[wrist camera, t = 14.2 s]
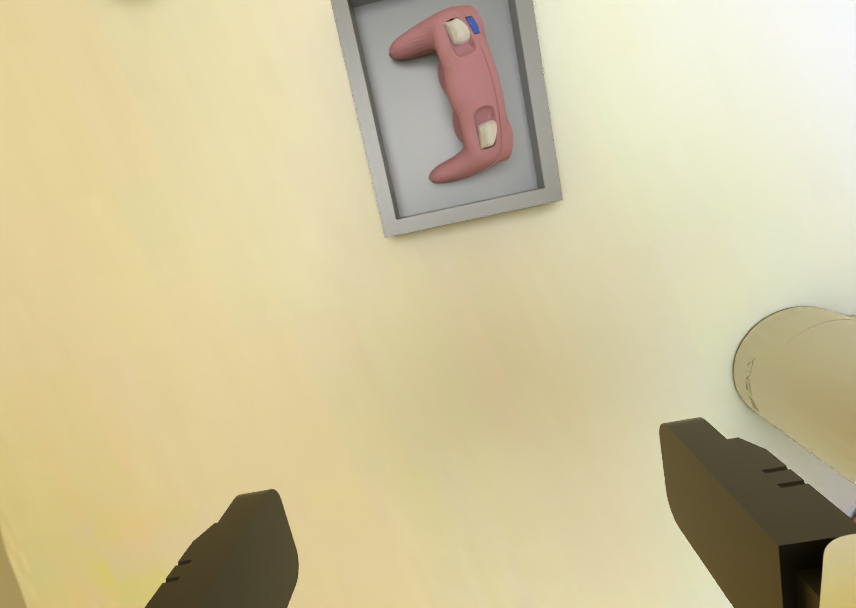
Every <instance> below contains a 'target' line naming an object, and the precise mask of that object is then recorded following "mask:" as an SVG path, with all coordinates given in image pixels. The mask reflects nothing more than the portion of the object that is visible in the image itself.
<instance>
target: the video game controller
mask: <svg viewBox="0 0 856 608" xmlns="http://www.w3.org/2000/svg"><path fill="white" fill-rule="evenodd" d="M434 51H436V52H437V55H438V57H439V60H440V61H439V65H438V78H439V82H440V85H441V87H442V89H443V90H444V92H445V93H446V94H447V96H448V98H449V101H450V103H451V105H452V107H453V109H454V112H453V127H454V131H455V133H456V136H457V137H458V138H459V140H461V141H462V142H464V147H463V149H462V150H461V151H460V152H459V153H457V154H456V155H455V156H454V157H452V158H450V159H448V160H446V161H445V162H443V163H441V164H439V165H438V166H436V167H435V168H434V169H433V170H432V171H431V173H430V174H429V180H430V181H431V182H433V183H448V182H453V181H458V180H461V179H464V178H468V177H471V176H473V175H475V174H477V173H480V172H481V171H483V170H485V169H487V168H489V167H491V166H493V165H495V164H497V163H500V162H502V161H505V160H507V159H508V158H509V157H510V155H511V153H512V149H513V132H512V127H511V125H510V122H509V120H508V118H507V116H506V110H505V104H504V97H503V93H502V89H501V85H500V80H499V76H498V73H497V70H496V67H495V63H494V60H493V57H492V55H491V52H490V49H489V47H488V44H487V42H486V40H485V29H484V24H483V22H482V19H481V16H480V15H479V13H478V11H477V10H476V9H475V8H474V7H473V6H471V5H463V6H455V7H449V8H446V9H444V10H441V11H439V12H437V13H435V14H433V15H432V16H430V17H428V18H426V19H425V20H423V21H422V22H420V23H418V24H417V25H415V26H414V27H412V28H411V29H409V30H408V31H406V32H405V33H403V34H402V35H400V36H399V37H398V38H397V39H396V40H394V42H393V43H392V44H391V46H390V48H389V56H390V57H391V58H392V59H395V60H402V59H412V58H416V57H419V56H422V55H426V54H429V53H431V52H434Z"/></svg>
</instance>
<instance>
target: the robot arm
mask: <svg viewBox="0 0 856 608" xmlns="http://www.w3.org/2000/svg"><path fill="white" fill-rule="evenodd" d="M734 381H735V386H736V389H737V391H738V393H739V395H740V397H741V399H742V400H743V401H744V402H745V403H746V405H747V406H748V407H749V408H751V409H752V410H753V411H755V412H756V413H757V414H759V415H760V416H761V417H763V418H764V419H766V420H767V421H768V422H770V423H771V424H772V425H774V426H775V427H776V428H778V429H779V430H781V431H782V432H783V433H784V434H786V435H787V436H788V437H790V438H791V439H792V440H794V441H795V442H797V443H798V444H799V445H801V446H802V447H804V448H805V449H806V450H808V451H809V452H810V453H812V454H813V455H815V456H816V457H817V458H819V459H820V460H821V461H823V462H824V463H826V464H827V465H828V466H830V467H831V468H833V469H834V470H835V471H837V472H838V473H839V474H841V475H842V476H844V477H845V478H846V479H848V480H849V481H850V482H852V483H853V484H855V485H856V316H849V317H848V316H845V315H841V314H838V313H835V312H832V311H829V310H825V309H821V308H817V307H802V306H800V307H794V308H788V309H785V310H782V311H779V312H777V313H774V314H772V315H770V316H769V317H767V318H765V319H764V320H762V321H761V322H760V323H758V324H757V325H756V326H755V327H754V328H753V329H752V330H751V331H750V332H749V333H748V335H747V336H746V337H745V339H744V340H743V341H742V343H741V345H740V347H739V349H738V351H737V354H736V358H735V362H734ZM659 435H660V444H661V452H662V460H663V468H664V476H665V484H666V492H667V498H668V502H669V505H670V508H671V511H672V514H673V516H674V519H675V521H676V523H677V525H678V526H679V528H680V530H681V531H682V532H683V534H684V535H685V537H686V538H687V540H688V541H689V543H690V544H691V546H692V547H693V549H694V550H695V551H696V553H697V554H698V556H699V557H700V559H701V560H702V562H703V563H704V565H705V566H706V568H707V569H708V571H709V572H710V573H711V575H712V576H713V578H714V579H715V581H716V582H717V584H718V585H719V587H720V588H721V590H722V591H723V592H724V594H725V595H726V597H727V598H728V600H729V601H730V603H731V604H732V606H733V607H734V608H856V522H854V521H853V520H852V519H851V518H850V517H848V516H847V515H846V514H845V513H843V512H842V511H841V510H840V509H839V508H837V507H836V506H835V505H834V504H832V503H831V502H830V501H829V500H827V499H826V498H825V497H824V496H823V495H821V494H820V493H819V492H818V491H816V490H815V489H814V488H813V487H812V486H810V485H809V484H805V483H804V480H803V479H802V478H801V477H799V476H798V475H797V474H796V473H794V472H793V471H792V470H791V469H790V470H788V469H787V466H786V465H785V464H783V463H782V462H781V461H780V460H778V459H777V458H776V457H775V456H774V455H772V454H771V453H770V452H769V451H767V450H766V449H764V448H761V447H759V446H757V445H754V444H752V443H750V442H747V441H745V440H743V439H740V438H733V439H726V438H725V437H724V436H723V435H721V434H720V433H719V432H718V431H717V430H716V429H715V428H714V427H713V426H711V425H710V424H709V423H708V422H707V421H706V420H705V419H703V418H701V417H699V418H693V419H687V420H681V421H675V422H669V423H663V424H661V426H660V430H659ZM298 569H299V564H298V554H297V550H296V546H295V543H294V540H293V537H292V533H291V530H290V527H289V523H288V520H287V517H286V514H285V510H284V507H283V504H282V501H281V498H280V496H279V494H278V492H277V491H276V490H274V489H270V490H264V491H258V492H252V493H247V494H241V495H238V496H237V497H236V498H235V499H234V500H233V502H232V503H231V504H230V506H229V507H228V509H227V510H226V512H225V513H224V515H223V516H222V517H221V519H220V520H219V522H218V523H214V524H213V525H212V526H211V527H210V528H208V529H207V530H206V531H205V532H204V533H203V534H201V535H200V536H199V537H198V538H197V539H196V540H194V541H193V542H192V544H191V545H190V546H189V548H188V549H187V550H186V552H185V553H184V555H183V556H182V557H181V559H180V560H179V561H178V566H175V567H174V568H173V570H172V571H171V572H170V574H169V575H168V576H167V578H166V583H162V585H161V586H160V587H159V589H158V590H157V592H156V593H155V594H154V596H153V597H152V598H151V600H150V601H149V602H148V604H147V605H146V607H145V608H287V606H288V604H289V601H290V599H291V596H292V594H293V591H294V588H295V586H296V583H297V578H298Z"/></svg>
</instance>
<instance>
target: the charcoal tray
mask: <svg viewBox="0 0 856 608" xmlns="http://www.w3.org/2000/svg"><path fill="white" fill-rule="evenodd" d="M331 4H332V9H333V13H334V17H335V22H336V26H337V30H338V35H339V39H340V44H341V48H342V52H343V57H344V61H345V65H346V70H347V74H348V78H349V83H350V87H351V91H352V96H353V100H354V105H355V109H356V113H357V118H358V122H359V126H360V131H361V135H362V139H363V144H364V148H365V153H366V157H367V161H368V166H369V170H370V174H371V179H372V183H373V187H374V192H375V196H376V200H377V205H378V209H379V214H380V218H381V222H382V227H383V231H384V235H385V238H386V237H391V236H395V235H400V234H405V233H410V232H414V231H419V230H424V229H428V228H433V227H438V226H443V225H447V224H452V223H457V222H462V221H466V220H471V219H476V218H480V217H485V216H490V215H495V214H499V213H504V212H509V211H514V210H518V209H523V208H528V207H532V206H537V205H542V204H547V203H551V202H556V201H561V200H563V199H562V193H561V186H560V179H559V173H558V166H557V160H556V153H555V147H554V140H553V133H552V127H551V120H550V114H549V107H548V101H547V94H546V87H545V81H544V74H543V68H542V61H541V55H540V48H539V41H538V35H537V28H536V22H535V15H534V9H533V2H532V0H331ZM463 5H471V6H473V7H474V8H475V9H476V10H477V11H478V13H479V15H480V16H481V19H482V22H483V24H484V29H485V40H486V42H487V44H488V47H489V49H490V52H491V55H492V57H493V60H494V63H495V67H496V70H497V73H498V76H499V80H500V85H501V89H502V93H503V97H504V104H505V110H506V116H507V118H508V120H509V122H510V125H511V127H512V132H513V149H512V153H511V155H510V157H509V158H508V159H507V160H505V161H502V162H500V163H497V164H495V165H493V166H491V167H489V168H487V169H485V170H483V171H481V172H480V173H477V174H475V175H473V176H471V177H468V178H464V179H461V180H458V181H453V182H448V183H433V182H431V181H430V180H429V174H430V173H431V171H432V170H433V169H434V168H435V167H436V166H438V165H439V164H441V163H443V162H445V161H446V160H448V159H450V158H452V157H454V156H455V155H456V154H457V153H459V152H460V151H461V150H462V149H463V147H464V142H462V141H461V140H459V138H458V137H457V136H456V133H455V131H454V127H453V112H454V109H453V107H452V105H451V103H450V101H449V98H448V96H447V94H446V93H445V92H444V90H443V89H442V87H441V85H440V82H439V78H438V65H439V61H440V60H439V57H438V55H437V52H436V51H434V52H431V53H429V54H426V55H422V56H419V57H416V58H412V59H402V60H395V59H392V58H391V57H390V56H389V48H390V46H391V44H392V43H393V42H394V40H396V39H397V38H398V37H399V36H400V35H402V34H403V33H405V32H406V31H408V30H409V29H411V28H412V27H414V26H415V25H417V24H418V23H420V22H422V21H423V20H425V19H426V18H428V17H430V16H432V15H433V14H435V13H437V12H439V11H441V10H444V9H446V8H449V7H455V6H463Z"/></svg>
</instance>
